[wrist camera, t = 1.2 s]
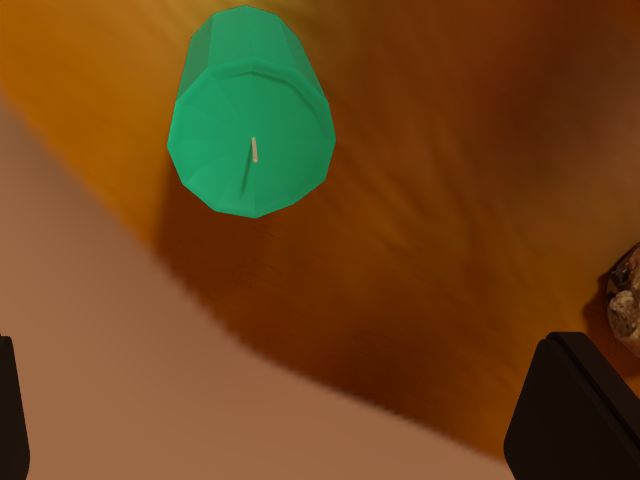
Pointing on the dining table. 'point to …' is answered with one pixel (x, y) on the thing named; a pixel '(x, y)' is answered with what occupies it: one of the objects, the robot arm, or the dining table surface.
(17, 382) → the robot arm
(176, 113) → the candle
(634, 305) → the bread roll
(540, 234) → the dining table surface
